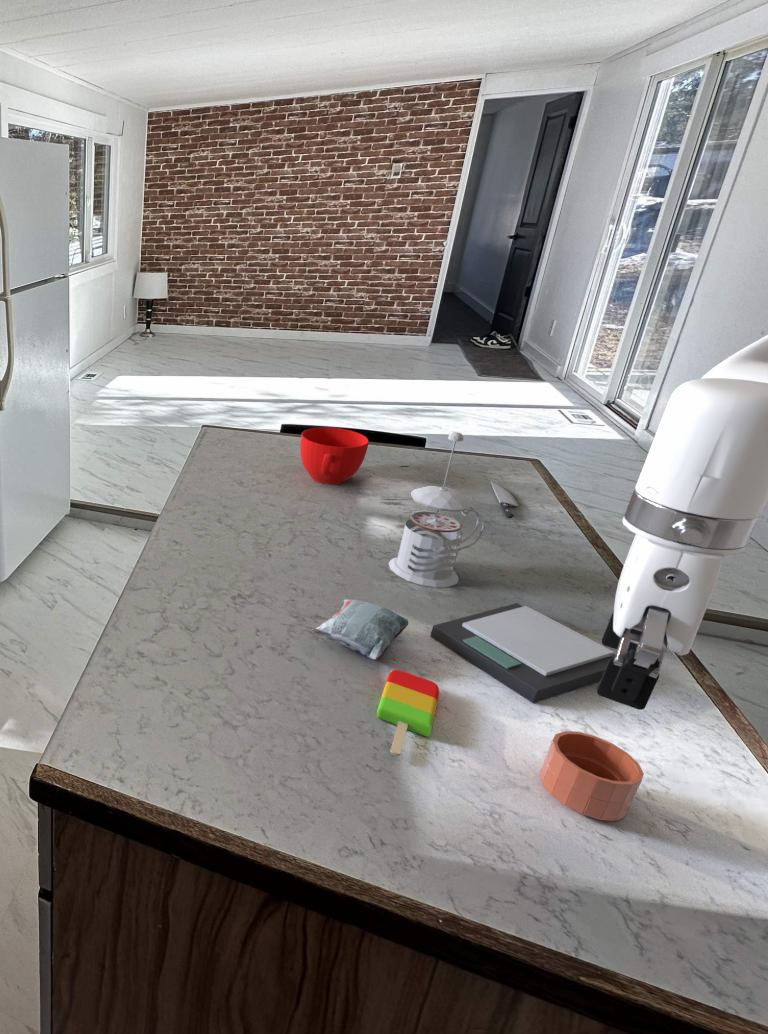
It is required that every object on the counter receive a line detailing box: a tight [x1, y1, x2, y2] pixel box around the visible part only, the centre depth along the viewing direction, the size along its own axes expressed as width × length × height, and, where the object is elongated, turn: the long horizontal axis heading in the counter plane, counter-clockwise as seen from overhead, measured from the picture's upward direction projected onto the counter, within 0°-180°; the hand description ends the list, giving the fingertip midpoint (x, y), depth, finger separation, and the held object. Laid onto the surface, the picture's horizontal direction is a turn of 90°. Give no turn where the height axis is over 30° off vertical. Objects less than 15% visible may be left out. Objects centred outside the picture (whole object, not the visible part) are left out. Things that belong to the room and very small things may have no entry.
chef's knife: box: [490, 481, 520, 519], centre depth 129 cm, size 19×1×3 cm
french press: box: [388, 431, 485, 588], centre depth 103 cm, size 10×12×25 cm
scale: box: [430, 602, 616, 704], centre depth 87 cm, size 16×14×3 cm
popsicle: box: [376, 669, 440, 757], centre depth 78 cm, size 6×15×2 cm, turn 140°
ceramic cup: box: [299, 426, 369, 485], centre depth 140 cm, size 13×17×10 cm
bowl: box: [539, 730, 645, 822], centre depth 67 cm, size 7×7×6 cm
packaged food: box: [311, 598, 409, 661], centre depth 92 cm, size 9×12×5 cm
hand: (620, 674), depth 63 cm, fingers open, 9 cm apart
